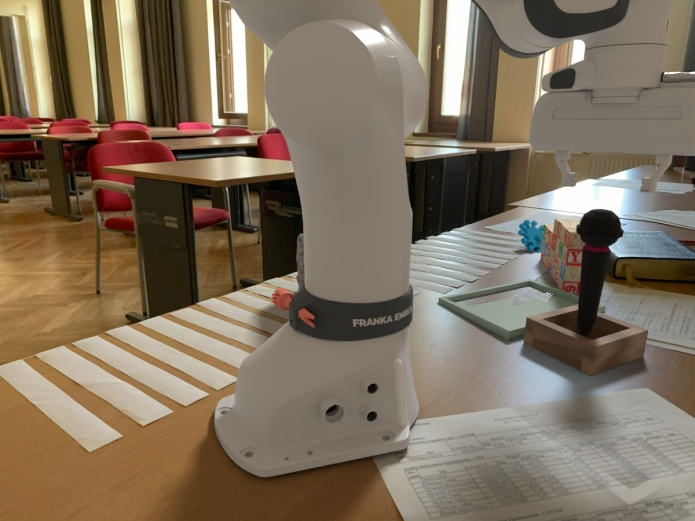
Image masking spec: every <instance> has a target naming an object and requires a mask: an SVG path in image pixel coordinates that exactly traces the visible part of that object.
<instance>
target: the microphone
mask: <svg viewBox="0 0 695 521" xmlns="http://www.w3.org/2000/svg"><path fill="white" fill-rule="evenodd" d="M580 219H581V221H580V223H579V224H578V225H576V232H577V234H579V235H580V237H581V240H582V241H583V242H584V243H585V245H584V246H583V248H582V262H581V275H580V288H579V294H578V296H579V301H578V315H577V324H579V325H578V330H579V334H580V335H582V336H584V337H587V338H589V334H590V332H592V326H595V322H596V317H597V312H598V308H599V303H600V304H601V298H602V294H603V293H602V292H603V289H604V284H605V279H606V274H607V271H608V266H609V263H610V262H609V261H610V257H611V249H610V247H611V246H612V245H614V244H615V243H617V241H618V240H619V239H621V238H623V237H624V232H625V230H624V229H623V228H622V224H621V220H620V219H621V218H620V217H619V215H617V214H616V213H615V212H614V211H612V210H611V209H610V210H609V209H605V208H593V209H590V210H588V211H587V212H585V213H584V214H583V215H582V216H581V218H580Z"/></svg>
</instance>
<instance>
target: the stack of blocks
mask: <svg viewBox="0 0 695 521" xmlns="http://www.w3.org/2000/svg"><path fill="white" fill-rule="evenodd" d="M580 221H581V218H579V219H578V218H559V217H558V218H554V223H552V224H551V223H549V224H548V223H544V224H542V225H543V231H542V232H543V234H542V238H543V239H542V247H541V253H540V257H539V258H540V260H541V262H542V265H543V266H544V267H545V268H546V269H547V271H548V273H549V275H550V276H551V277H552V278H551V279H553V281H554V283H555V284H556V286H557V289H560V290H562V291H565V292H568V293H571V294H573V293H576V294H575V295H579V288H580V275H581V262H582V248H583V246H584V245H585V243H584V242H583V241H582V240H581V237H580V235H579V234H577V232H576V225H578V224H579V223H580Z"/></svg>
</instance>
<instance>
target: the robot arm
mask: <svg viewBox="0 0 695 521" xmlns="http://www.w3.org/2000/svg"><path fill="white" fill-rule="evenodd" d="M227 1H228V3H229V4H230V6H231V7H232V9H233V10H234V12H235V13H236V14H237V16H238V18H239V19H240V20H241V22H242V24H243V25H244V26H245V27H246V28H247V29H248V30H249V31H250V33H252V34H254V36H256V37H257V38H258V39H259V40H260V41H261V42H262V43H263V44H264V45H265V46H267V47H268V48H269V49H270V51H271V52H272V53H271V54H270V57H269V58H268V61H267V65H266V68H265V74H264V81H263V82H264V83H263V87H264V88H263V90H264V98H265V103H266V107H267V110H268V113H269V115H270V117H271V119H272V120H273V122H274V124H275V125H276V127H277V129H278V130H279V131H280V133H281V134H282V136H283V138H284V140H285V143H286V145H287V150H288V153H289V157H290V161H291V165H292V169H293V172H294V178H295V180H296V182H295V183H296V186H297V190H298V195H299V199H300V206H301V212H302V213H301V214H302V222H303V225H302V227H303V234H304V271H305V282H304V283H303V285H302V286H301V288H300V291H299V292H298V291H297V293H296V294H295V295H294V294H293V293H291V292H289V290H288V289H286V288H284V287H279V288H276V289H275V290H273V293H272V294H271V296H272V297H271V298H270V299H271V302H272V303H273V304H274V306H277V307H278V309H279V310H281V311H283V312H284V311H288V321H287V322H286V323H284V324H283V325H282V326H281V327H280V328H279V329H278V330H276V331H275V332H274V333H273V334H272V335H271V336H270V337H269V338H267V340H266V341H264V342H263V343H262V344H261V345H259V346H258V347H257V348H256V349H255V350H254V351H252V352H251V353H250V354H249V355H248V356H246V358H244V359H243V360H242V362H241V364H240V365H239V369H238V373H237V377H236V381H235V388H234V389H235V390H234V393H232V394H230V395H227V396H224V397H222V398H221V399H220V400H219V401H218V403H217V405H216V407H215V409H214V418H213V420H214V421H213V423H214V431H215V433H216V436H217V439H218V441H219V443H220V445H221V447H222V448H223V450H224V452H225V453H226V454H227V455H228V457H229V458H230V459H231V460H232V461H233V462H234V463H235V464H236V465H237V466H238V467H240V468H241V469H243V470H244V471H247V472H248V473H250V474H252V475H254V476H257V477H259V478H270V477H275V476H279V475H285V474H289V473H295V472H301V471H303V470H309V469H315V468H319V467H324V466H328V465H333V464H339V463H344V462H350V461H354V460H359V459H363V458H368V457H373V456H377V455H383V454H384V455H385V454H388V453H391V452H392V453H393V452H397V451H401V450H405V449H407V448H408V447H409V446H410V444H411V432H410V431H411V427H412V426H413V424H414V423H415V421H416V419H417V418H418V415H419V412H420V404H419V403H420V402H419V399H418V396H417V392H416V387H415V384H414V378H413V372H412V371H413V370H412V362H411V352H410V351H411V350H410V349H411V348H410V329H409V328H410V325H411V324H412V322H413V316H414V288H413V286H412V284H411V282H410V281H411V260H412V259H411V258H412V240H413V239H412V237H413V235H412V234H413V217H414V215H413V209H412V206H411V201H410V197H409V188H408V187H409V185H408V175H407V165H406V148H405V147H406V146H405V145H406V144H405V140H406V138H408V137H409V136H410V135H411V134H412V133H413V132H414V131H415V130H416V129H417V127H418V126H419V124H420V123H421V121H422V119H423V117H424V114H425V113H426V109H427V107H428V106H427V104H428V100H429V98H428V96H429V88H428V80H427V77H426V73H425V70H424V69H423V67H422V65H421V63H420V62H419V60H418V58H417V57H416V56H415V53H413V51H412V50H411V49H410V47H409V46H408V44H407V42H406V41H405V40H404V38H403V37H402V35H401V33H399V31H398V30H397V28H396V27H395V26H394V24H393V23H392V22H391V20H390V18H388V16H387V15H386V13H385V12H384V10H383V9H382V8H381V6H380V4H379V3H378V2H377V0H227ZM470 1H471V3H473V4H474V6H476V8H477V9H478V11H480V13H481V15H482V17H483V18H484V21H485V23H486V26H487V27H488V31H489V33H490V36H491V37H492V40H493V41H494V43H495V44H496V46H497V47H498V48H499V49H500V50H501V51H502V52H504V53H505V54H506V55H509V56H510V57H513V58H517V59H525V60H526V59H534V58H537V57H539V56H541V55H544V54H546V53H547V52H549V51H550V50H552V49H555V48H556V47H557V48H558V47H560V46H562V45H565V44H567V43H570V42H573V41H576V40H577V41H578V40H579V41H582V42H583V44H584V54H583V59H582V60H580V61H577V62H575V63H573V64H570V65H566V66H564V67H562V68H558V69H556V70H553V71H551V72H548V73H545V74H544V75H543V76H542V78H541V89H542V91H543V92H546V93H544V94H541V96H540V97H539V98H538V99H537V100H536V103H535V105H534V108H533V113H532V117H531V121H530V128H529V134H528V135H529V136H528V141H529V142H528V143H529V145H530V147H531V148H532V149H533V150H534V151H547V152H551V151H552V152H553V151H555V153H554V160H555V163H556V165H557V167H558V169H559V171H560V174H561V179H560V180H561V182H560V186H561V187H568V188H574V187H576V186H577V181H578V180H577V178H578V172H576V171H575V172H572V171H571V168H570V166H569V164H568V161H567V160H570V159H571V158H572V152H579V153H580V152H582V153H602V154H603V153H605V154H607V153H608V154H609V153H611V154H631V155H633V154H636V155H655V161H654V164H655V165H659V166H658V167H657V168H656V170H655V171H654V172H653V173H652V174H651V176H644V177H641V186H640V190H639V191H640V193H645V194H646V193H647V194H648V193H649V194H655V193H657V192H656V191H657V189H658V181H659V178H661V176H662V175H663V174H664V173H665V172H666V171H667V169H668V168H669V167H670V166H671V164H672V160H673V156H686V157H687V156H689V157H691V156H693V157H695V71H691V72H685V71H684V72H683V71H674V72H672V71H671V72H668V71H667V72H665V67H666V61H667V54H668V48H669V38H668V32H667V31H668V23H669V22H668V21H669V19H670V16H671V13H672V10H673V9H674V6H675V1H676V0H470Z"/></svg>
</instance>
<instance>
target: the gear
mask: <svg viewBox="0 0 695 521" xmlns="http://www.w3.org/2000/svg"><path fill="white" fill-rule="evenodd" d="M537 225H538V221H536V220H532V221H530V220H529V219H525V220H524V221H523V222H521V223H520V224H519V225H518V228H519V230H518V232H517V235H519V236H521V237H522V238H520V242H521V244H522V245H523V246H524V247H526V249H527V251H528V252H530V253H532V251H534V250H535V249H536V250H537V251H536V253H537V254H541V247H542V239H543V238H542V234H543V225H544V224H542V225H540V226H539V227H538V228H537V227H536V226H537Z"/></svg>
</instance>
